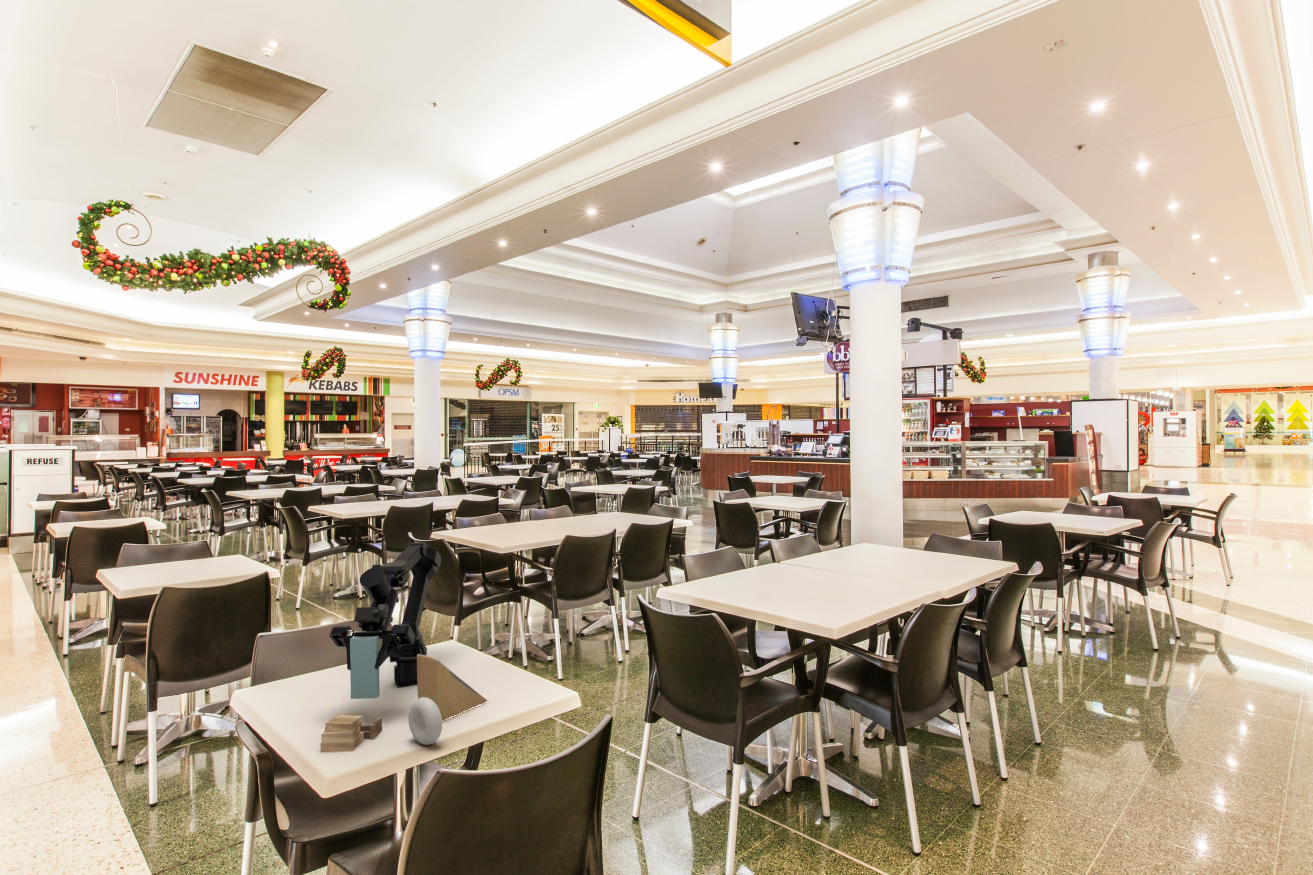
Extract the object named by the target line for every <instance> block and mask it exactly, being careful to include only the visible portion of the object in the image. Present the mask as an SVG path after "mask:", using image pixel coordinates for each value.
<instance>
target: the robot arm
mask: <svg viewBox="0 0 1313 875" xmlns="http://www.w3.org/2000/svg"><path fill="white" fill-rule="evenodd" d="M441 564H442V556H441V553H440V552H439V551H438V550H437V549H435V548H433V547H431V546H428V544H427V543H425V542H410V543H408V544H406V547H405V549H404V550H403V551H402V552H401V553H400V554H399V555H398V556H397V557H396V558H395V559H394V560H393V561H390V562H387V563H384V564H372V566H371V568H368V569H367V570H365V571H364V572H363V573H362V574H361V575H360V577H359V584H360V585H361V587H362V589H363V590H364V592H365V594H366V595H367V597H368V598H369V599H371V602H370V604H369V606H363V607H360V606H359V607H358V606H357V607H355V615H354V619H353V622H355V623H356V622H357V623H358V624H357V626H358V628H359V629H361V630H353V628H351V626H350V625H335V626H334V627H333V626H332V628H331V629H330V632H329V635H328V636H329V638H330V639H331V640H332V642H333V643H334V645H335V646H336V647H338V648H344V647H345V649H346V650H345V652H346V668H347V670H348V671H350V639H351V638H352V637H362V636H379V640H381V646H380V647H379V654H378V657H377V660H376V663H375V669H378V668H379V669H380V667H381V666H382V665H383V664H384V663H385V662H386V660H387V659H388V658H389V662H390V663H395V665H393V682H394V683H395V684H396V688H400V687H408V686H413V685H417V654H421V655H425V656H428V655H427V654H428V648H427V647H426V644H425V642H424V641H423V639H424V638H423V634H422V631H421V629H420V626H421V620H422V616H423V612H424V608H425V603H426V602H425V601H426V598H427V594H428V588H429V585H430V581H431V580H432V579H433V578H435V576H436V575H437V574H438V571H439V567H440V566H441ZM409 572H411V574H412V581H411V585H410V587H409V588H410V589H409V592H408V597H407V601H406V604H405V609H404V613H403V616H402V621H401V624H397V623H396V624H393V625H392V627H391V629H390V630H389V626H390V623H393V620H394V618H393V613H394V609H395V607H396V603H397V604H398V603H399V601H400V598H399V593H398V592H397V590H396V589H399V588H404V587H405V586H406V585H407V583H408V582H409V579H410V574H409Z"/></svg>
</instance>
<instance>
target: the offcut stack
mask: <svg viewBox="0 0 1313 875" xmlns="http://www.w3.org/2000/svg"><path fill="white" fill-rule="evenodd" d="M361 725H363V715H348V714H347V715H346V714H345V715H343V714H342V715H341V714H338V715H336V716H334V717H333V718H331V719H329V720H328V721H326V722H325V727H326V730H325V729H324V730H323V731H322V733H321V734H320V735H321V737H320V738H321V739H320V740H321V742H320V743H319V744H320V753H327V752H329V753H332V752H354V751H355V750H356V749H357V748H358V747H359V746H360V745H361V744H362V743H363V742H364V741H365V739H364V732H360V726H361Z"/></svg>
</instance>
